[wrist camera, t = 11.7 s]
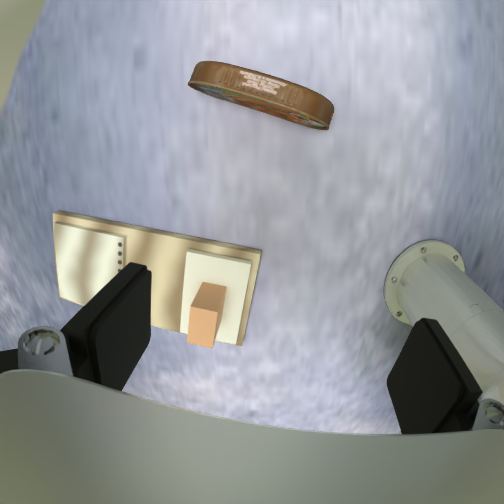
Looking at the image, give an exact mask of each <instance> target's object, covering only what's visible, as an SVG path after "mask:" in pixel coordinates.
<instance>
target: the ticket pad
mask: <svg viewBox="0 0 504 504" xmlns="http://www.w3.org/2000/svg"><path fill="white" fill-rule="evenodd" d="M53 231H54V249H55V262H56V273H57V282H58V291H59V298H62V299H65V300H68V301H71V302H74V303H77V304H80V305H83V306H85V305H86V304H87V303H88V302H89V301H90V300H91V299H92V298H93V297H94V296H95V295H96V294H97V293H98V292H99V291H100V290H101V289H102V288H103V287H104V286H105V285H106V284H107V283H108V282H109V281H110V280H111V279H112V278H113V277H114V276H115V275H117V274H118V273H119V272H120V271H121V270H122V269H123V268H124V267H125V266H126V265H127V264H128V263H130V262H134V263H138V264H142V265H146V266H147V269H148V270H150V271H151V272H152V285H151V325H152V326H156V327H160V328H164V329H167V330H171V331H175V332H180V323H181V309H182V296H183V284H184V273H185V263H186V253H187V250H188V249H193V250H198V251H203V252H208V253H213V254H218V255H223V256H228V257H233V258H238V259H243V260H248V261H252V263H251V268H250V274H249V279H248V284H247V289H246V295H245V300H244V305H243V310H242V316H241V321H240V326H239V331H238V336H237V341H236V345H238V346H242V344H243V339H244V334H245V329H246V324H247V319H248V314H249V310H250V305H251V300H252V295H253V290H254V285H255V280H256V275H257V270H258V265H259V260H260V255H261V250H259V249H254V248H249V247H244V246H238V245H233V244H228V243H223V242H218V241H213V240H208V239H203V238H198V237H193V236H187V235H182V234H177V233H172V232H167V231H162V230H157V229H151V228H146V227H141V226H136V225H131V224H126V223H120V222H115V221H110V220H105V219H100V218H94V217H89V216H84V215H79V214H74V213H68V212H63V211H57V212H55V213H53ZM180 333H181V332H180ZM184 334H185V333H184ZM215 341H216V340H215ZM219 342H220V341H219ZM224 343H225V342H224ZM229 344H230V343H229ZM233 345H235V344H233Z"/></svg>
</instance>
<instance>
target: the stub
mask: <svg viewBox="0 0 504 504" xmlns="http://www.w3.org/2000/svg"><path fill="white" fill-rule="evenodd" d="M251 263H252V261H248V260H243V259H238V258H233V257H228V256H223V255H218V254H213V253H208V252H203V251H198V250H193V249H188V250H187V253H186V263H185V273H184V284H183V296H182V309H181V323H180V332H181V333H185V334H188V337H187V343H192V344H196V345H200V346H205V347H209V348H213V345H214V342H215V340H216V341H220V342H225V343H230V344H235V345H236V341H237V336H238V331H239V326H240V321H241V316H242V310H243V305H244V300H245V295H246V289H247V284H248V279H249V274H250V268H251Z"/></svg>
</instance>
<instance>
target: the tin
mask: <svg viewBox="0 0 504 504" xmlns="http://www.w3.org/2000/svg"><path fill="white" fill-rule="evenodd" d="M188 85H189V86H190V87H191V88H193V89H195V90H198V91H200V92H202V93H205V94H207V95H210V96H213V97H216V98H219V99H222V100H225V101H229V102H232V103H235V104H239V105H242V106H245V107H249V108H252V109H255V110H258V111H261V112H265V113H268V114H271V115H274V116H276V117H279V118H282V119H285V120H288V121H291V122H294V123H297V124H301V125H304V126H307V127H311V128H315V129H321V130H328V129H329V124H330V121H331V119H332V116H333V113H334V106H333V104H332V103H331V102H330V101H329V100H328V99H327V98H325V97H324V96H322V95H321V94H319V93H317V92H315V91H313V90H310V89H308V88H306V87H303V86H301V85H298V84H295V83H292V82H289V81H286V80H283V79H281V78H277V77H274V76H271V75H268V74H264V73H261V72H258V71H254V70H251V69H247V68H243V67H239V66H235V65H231V64H227V63H222V62H215V61H202V62H199V63H198V64H197V65H196V66H195V68H194V71H193V74H192V76H191V79H190V81H189V82H188Z"/></svg>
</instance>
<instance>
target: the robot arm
mask: <svg viewBox="0 0 504 504" xmlns="http://www.w3.org/2000/svg"><path fill="white" fill-rule="evenodd" d="M421 248H422V249H421ZM392 277H393V278H392ZM151 285H152V272H151V271H150V270H148V269H147V266H146V265H142V264H138V263H134V262H130V263H128V264H127V265H126V266H125V267H124V268H123V269H122V270H121V271H120V272H119V273H118V274H117V275H115V276H114V277H113V278H112V279H111V280H110V281H109V282H108V283H107V284H106V285H105V286H104V287H103V288H102V289H101V290H100V291H99V292H98V293H97V294H96V295H95V296H94V297H93V298H92V299H91V300H90V301H89V302H88V303H87V304H86V305H85V306H84V307H83V308H82V309H81V310H80V311H79V312H78V313H77V314H76V315H75V316H74V317H73V318H72V319H71V320H70V321H69V322H68V323H67V324H66V325H65V326H64V327H63V328H62V329H61V330H58V329H56V328H54V327H50V326H38V327H33V328H31V329H29V330H27V331H25V332H24V333H23V334H22V335H21V337H20V338H19V340H18V349H12V350H6V351H0V504H504V311H503V310H502V309H501V308H500V307H499V306H498V305H497V304H496V303H495V302H494V301H493V300H492V299H491V298H490V297H489V296H488V295H487V294H486V293H485V292H484V291H483V290H482V289H481V288H480V287H479V286H478V285H477V284H476V283H475V282H474V281H473V280H472V279H471V278H470V277H468V276H467V275H466V274H465V267H464V263H463V260H462V258H461V256H460V254H459V253H458V252H457V251H456V250H455V249H454V248H453V247H452V246H451V245H449V244H447V243H445V242H442V241H439V240H427V241H422V242H419V243H417V244H414V245H412V246H411V247H409V248H408V249H406V250H405V251H404V252H403V253H402V254H400V255H399V257H398V258H397V259H396V260H395V261H394V263H393V265H392V266H391V268H390V270H389V272H388V274H387V277H386V281H385V285H384V296H385V301H386V304H387V306H388V308H389V310H390V312H391V314H392V315H393V316H394V317H395V318H396V319H397V320H399V321H400V322H402V323H405V324H408V325H411V326H412V330H411V332H410V335H409V337H408V339H407V341H406V343H405V345H404V347H403V349H402V351H401V353H400V355H399V357H398V359H397V361H396V363H395V364H394V366H393V368H392V370H391V372H390V374H389V376H388V378H387V387H388V390H389V394H390V397H391V400H392V403H393V406H394V409H395V412H396V416H397V419H398V422H399V426H400V429H401V432H402V434H354V433H336V432H322V431H311V430H301V429H292V428H284V427H277V426H270V425H263V424H257V423H250V422H245V421H239V420H233V419H228V418H223V417H218V416H213V415H208V414H204V413H199V412H195V411H191V410H187V409H183V408H179V407H175V406H171V405H167V404H163V403H160V402H156V401H153V400H149V399H146V398H142V397H139V396H136V395H132V394H129V393H126V392H122V389H123V387H124V386H125V384H126V382H127V380H128V379H129V377H130V375H131V373H132V372H133V370H134V368H135V366H136V365H137V363H138V361H139V360H140V358H141V356H142V354H143V353H144V351H145V349H146V348H147V346H148V344H149V341H150V337H151Z"/></svg>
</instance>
